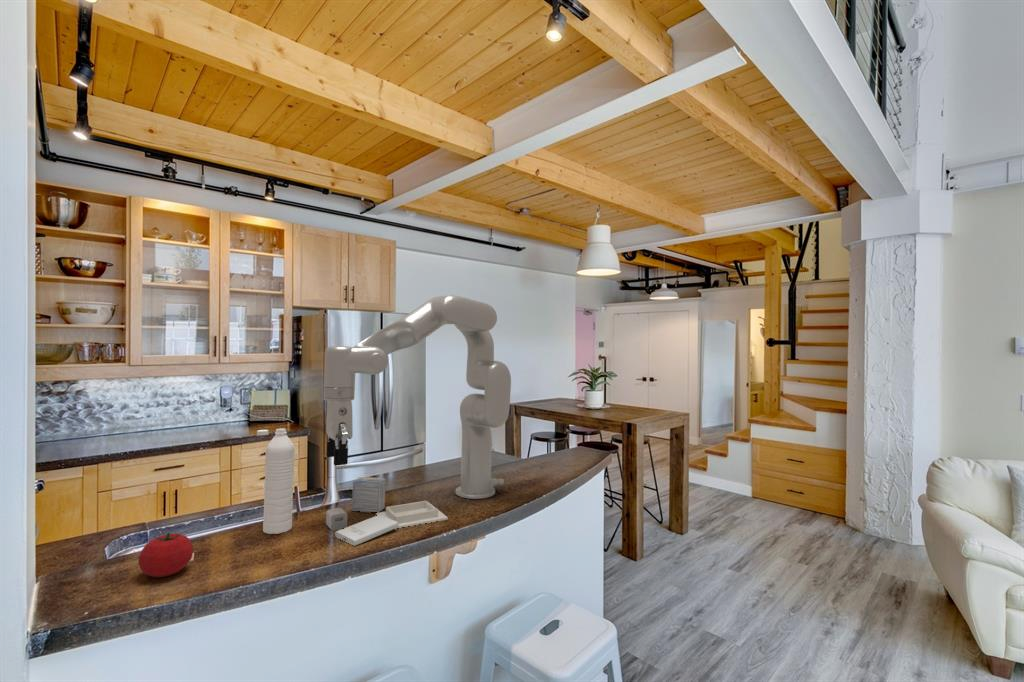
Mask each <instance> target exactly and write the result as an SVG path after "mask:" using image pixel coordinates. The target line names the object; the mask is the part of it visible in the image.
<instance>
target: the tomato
mask: <svg viewBox="0 0 1024 682" xmlns="http://www.w3.org/2000/svg"><path fill="white" fill-rule="evenodd" d="M193 554H194V546H193V542H192V541H191V539H190V538H189V537H188V536H186V535H185V532H184V533H169V532H167V534H163V535H159V536H158V537H155V538H154V539H151V540H150V541H148V542H147V543H146V544H145V545H144V547H142V549H141V550H140V554H139V555H138V556H139V557H138V561H137V563H138V565H139V569H140V570H141V571H142V572H143V573H144V575H147V576H149V577H152V578H164V577H169V576H172V575H174V574H177V573H178V572H180V571H181V570H182V569H184V568H185V567H186V566H187V565H188V564H189V563H190V561H191V560H192V557H193Z"/></svg>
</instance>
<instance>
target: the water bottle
mask: <svg viewBox="0 0 1024 682" xmlns="http://www.w3.org/2000/svg"><path fill="white" fill-rule="evenodd" d="M287 433H288V431H287V428H283V427H282V428H281V427H280V428H276V429H275V433H274V436H273V438H272V439H271V440H270V441H269V443H268V444H267V446H266V448H265V460H264V461H265V469H264V472H265V473H264V486H263V487H264V492H263V495H264V499H263V517H262V518H263V519H262V520H263V523H262V531H263V533H264V534H268V535H273V534H274V535H279V534H282V533H287V532H288V531H290V530H292V528H293V508H294V501H293V499H294V495H293V494H294V480H295V479H294V472H295V471H294V469H295V468H294V467H295V451H296V449H295V445H294V443H293V441H292V440H291V439H290V437H289V436H288V435H287ZM256 435H257V436H267V435H269V429H258V430H256Z"/></svg>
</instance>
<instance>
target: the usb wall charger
mask: <svg viewBox="0 0 1024 682" xmlns="http://www.w3.org/2000/svg"><path fill="white" fill-rule="evenodd" d="M325 524H326V525H327V527H328V528H329V529H330V531H332V532H333V531H339V530H341V529H342V528H346V527H348V513H347V512H346V511H345V510H344V509H343V508H342V507H337V508H331V509H328V510H326V513H325ZM338 529H339V530H338Z"/></svg>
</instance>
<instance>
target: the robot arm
mask: <svg viewBox="0 0 1024 682" xmlns="http://www.w3.org/2000/svg"><path fill="white" fill-rule="evenodd" d="M497 321H498V314H497V311H496V309H494V307H493V306H492V305H490V304H488V303H486V302H482V301H478V300H475V299H470V298H468V297H467V298H466V297H463V296H459V295H454V294H448V295H440V296H434V297H432V298H430V299H429V300H426V302H424V303H422V304H421V305H420V306H418V307H417V308H415V309H414V310H412V311H411V312H409V313H408V314H406V315H405V316H403V317H402V318H400V319H398V320H396V321H395V322H393V323H391V324H389V325H387V326H386V327H383V328H382V329H380V330H378V331H377V332H374V333H372V334H371V335H369V336H368V337H366V338H364V339H363V340H362V341H360V342H358V343H357V344H356V345H354V346H353V347H352V346H343V345H342V346H340V345H333V346H331V345H330V346H328V347H326V349H325V353H324V354H325V355H324V374H323V375H324V376H323V401H327V405H326V407H327V408H326V420H325V421H326V422H325V424H326V425H325V426H326V427H325V428H326V430H325V432H326V435H327V441H326V457H327V458H333V465H334V466H345V465H348V462H349V459H348V457H349V440H352V438H353V430H354V429H353V401H354V400H355V390H356V374H363V375H364V374H365V375H372V376H373V375H378V374H382V373H383V372H384V371H385V370H386V369H387V367H388V364H389V356H388V355H390V354H392V353H394V352H398V351H400V350H403V349H407V348H410V347H413V346H416V345H418V344H419V343H421V342H422V341H424V340H425V339H426V338H427V337H429V336H430V335H432V334H433V333H435V332H436V331H437V330H439V329H440V328H442V327H443V326H445V325H454V326H455V327H456V329H458V331H459V332H460V333H462V335H463V337H464V339H465V341H466V344H467V357H466V358H467V359H466V373H465V375H466V377H465V378H466V383H467V385H468V386H469V387H470V388H472V389H475V390H480V391H484V392H483V393H484V394H483V393H471V394H470V393H469V394H468V395H466V396H465V397H464V398H463V399H462V401H461V403H460V405H459V415H460V422H461V462H460V465H461V467H460V485H459V486H458V487H456V488H455V494H456V496H458V497H460V498H464V499H469V500H470V499H472V500H478V499H479V500H482V499H487V498H490V497H494V496H495V494H496V488H495V487H496V486H502V485H504V484H505V480H504V478H497V477H494V478H493V477H492V475H491V474H492V444H493V443H492V442H493V438H492V430H491V429H492V428H500V427H502V426H503V425H504V424H505V423H506V422H507V421H508V417H509V414H510V405H511V388H512V376H511V372H510V369H509V368H508V366H507V365H506V363H504V362H501V361H498V360H495V343H494V339H493V336H492V334H491V332H490V331H492V329H494V327H495V325H497Z"/></svg>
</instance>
